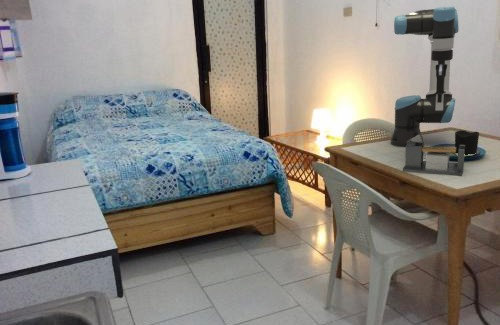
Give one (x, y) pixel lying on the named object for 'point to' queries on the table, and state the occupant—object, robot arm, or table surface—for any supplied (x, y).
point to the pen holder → (467, 141)
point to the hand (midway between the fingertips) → (439, 109)
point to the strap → (438, 149)
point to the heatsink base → (432, 161)
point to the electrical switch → (416, 140)
